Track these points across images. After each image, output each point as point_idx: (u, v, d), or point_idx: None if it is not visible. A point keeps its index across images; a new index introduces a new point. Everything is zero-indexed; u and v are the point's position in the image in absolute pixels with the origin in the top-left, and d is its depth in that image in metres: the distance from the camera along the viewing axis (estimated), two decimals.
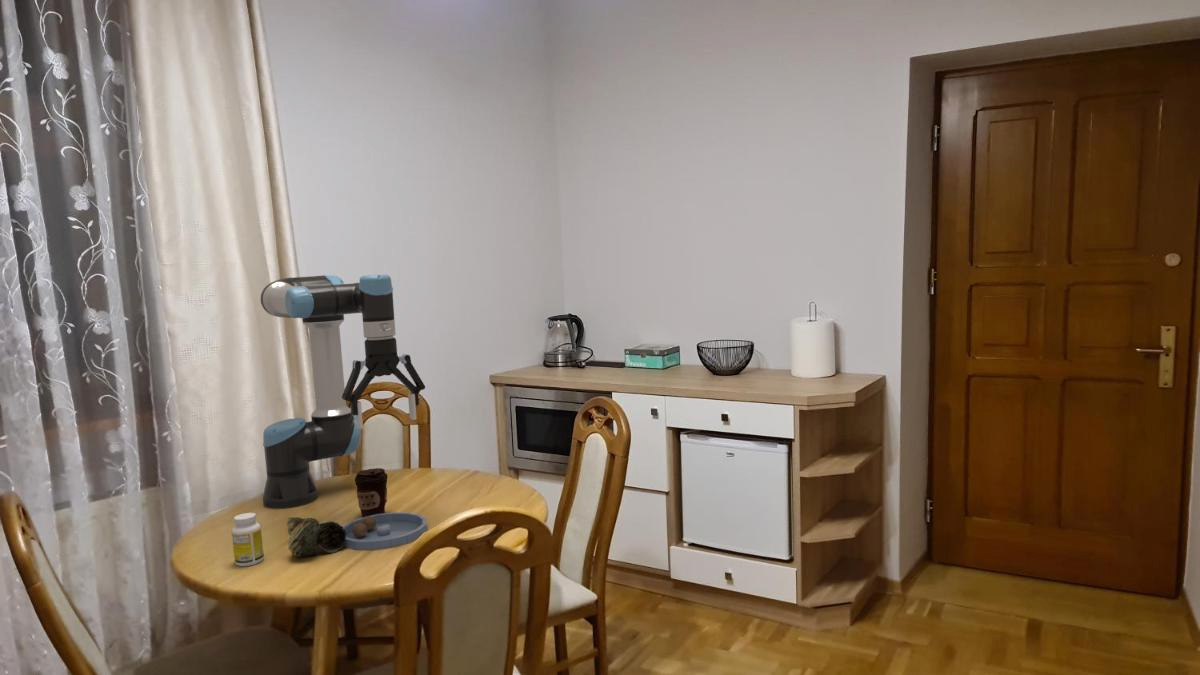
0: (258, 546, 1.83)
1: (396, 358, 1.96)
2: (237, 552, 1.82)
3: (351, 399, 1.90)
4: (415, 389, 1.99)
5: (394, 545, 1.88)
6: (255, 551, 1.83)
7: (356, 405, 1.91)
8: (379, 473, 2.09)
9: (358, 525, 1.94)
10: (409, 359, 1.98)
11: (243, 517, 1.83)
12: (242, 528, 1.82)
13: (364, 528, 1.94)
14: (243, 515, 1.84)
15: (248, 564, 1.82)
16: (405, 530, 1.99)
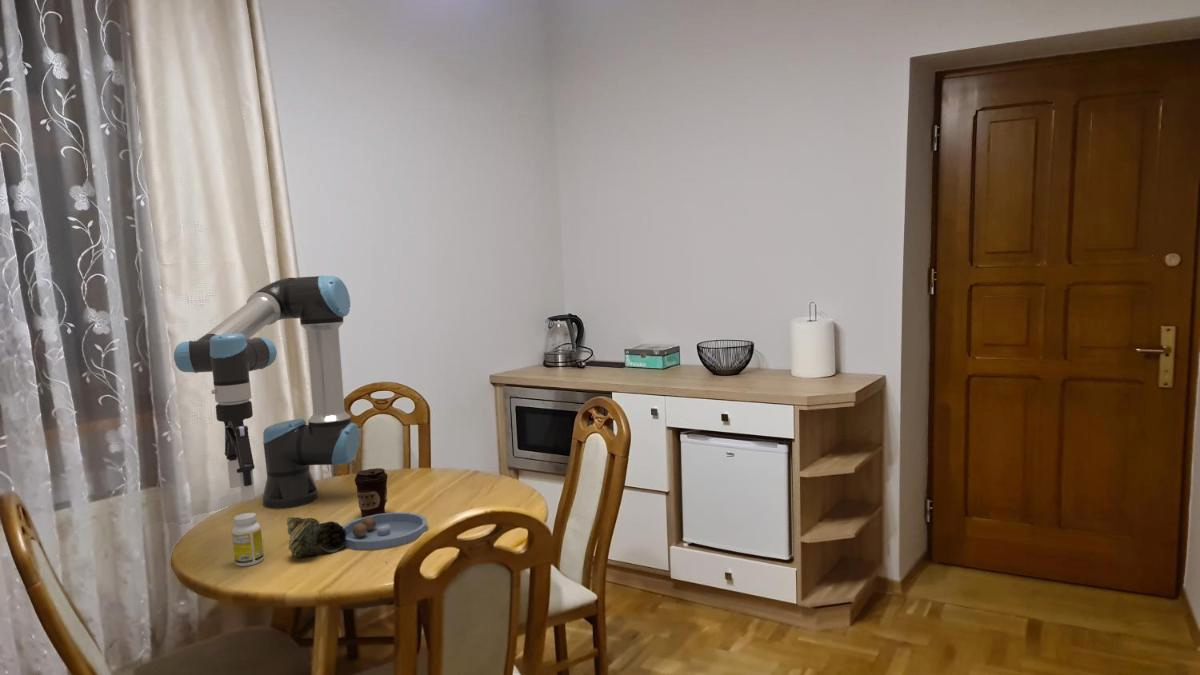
0: (258, 546, 1.83)
1: (233, 427, 1.78)
2: (237, 552, 1.82)
3: None
4: (240, 467, 1.75)
5: (394, 545, 1.88)
6: (255, 551, 1.83)
7: None
8: (379, 473, 2.09)
9: (358, 525, 1.94)
10: (236, 432, 1.75)
11: (243, 517, 1.83)
12: (242, 528, 1.82)
13: (364, 528, 1.94)
14: (243, 515, 1.84)
15: (248, 564, 1.82)
16: (405, 530, 1.99)
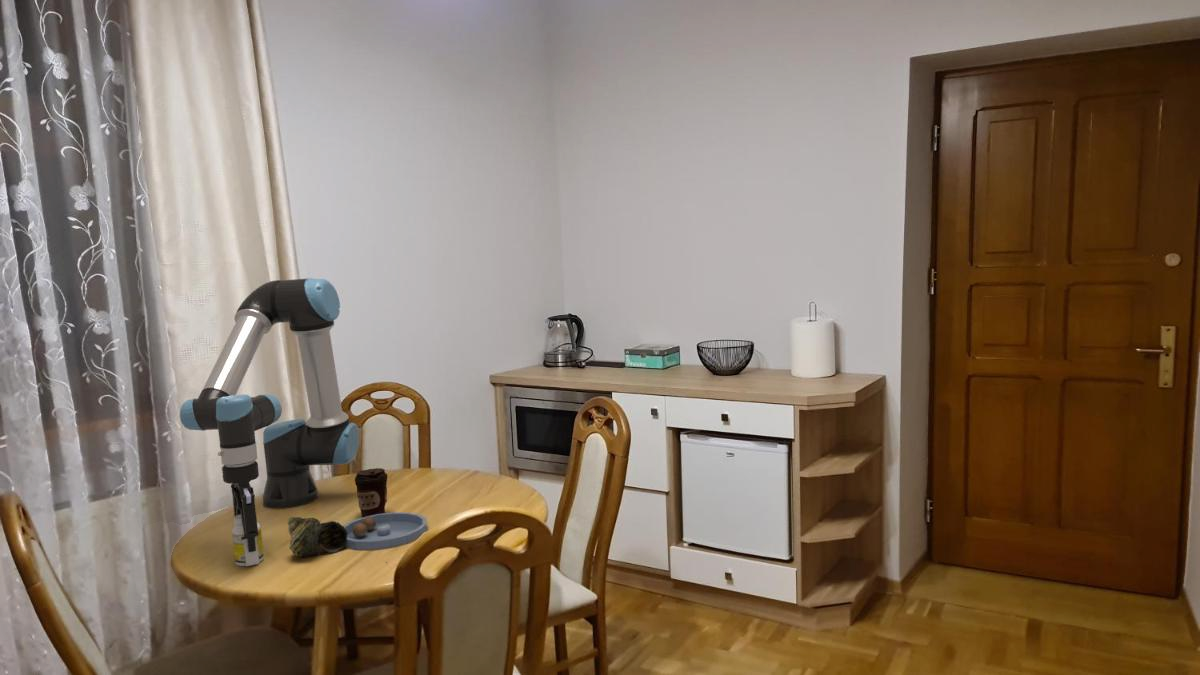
0: (258, 546, 1.83)
1: (239, 490, 1.80)
2: (237, 552, 1.82)
3: None
4: (244, 534, 1.80)
5: (394, 545, 1.88)
6: None
7: None
8: (379, 473, 2.09)
9: (358, 525, 1.94)
10: (242, 501, 1.77)
11: None
12: (242, 528, 1.82)
13: (364, 528, 1.94)
14: None
15: None
16: (405, 530, 1.99)
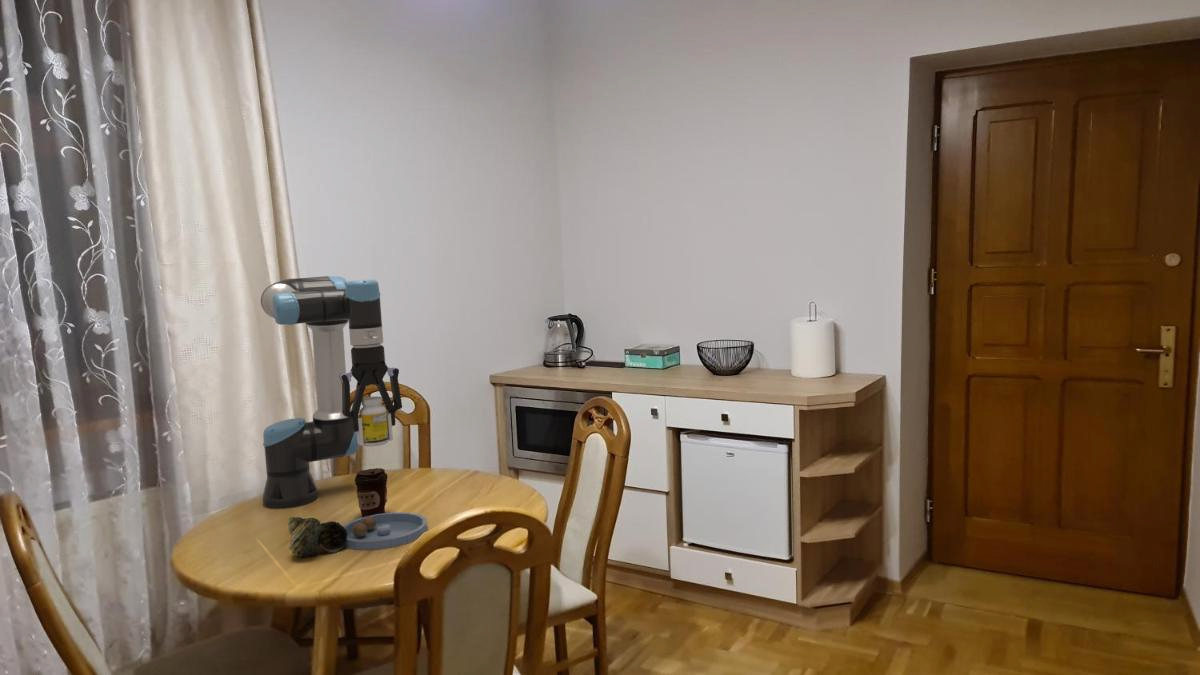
0: None
1: (385, 367, 1.88)
2: (384, 430, 1.87)
3: (351, 415, 1.85)
4: (392, 408, 1.90)
5: (394, 545, 1.88)
6: None
7: (357, 421, 1.86)
8: (379, 473, 2.09)
9: (358, 525, 1.94)
10: (397, 373, 1.90)
11: (375, 398, 1.88)
12: (382, 406, 1.88)
13: (364, 528, 1.94)
14: (368, 398, 1.87)
15: (388, 440, 1.90)
16: (405, 530, 1.99)
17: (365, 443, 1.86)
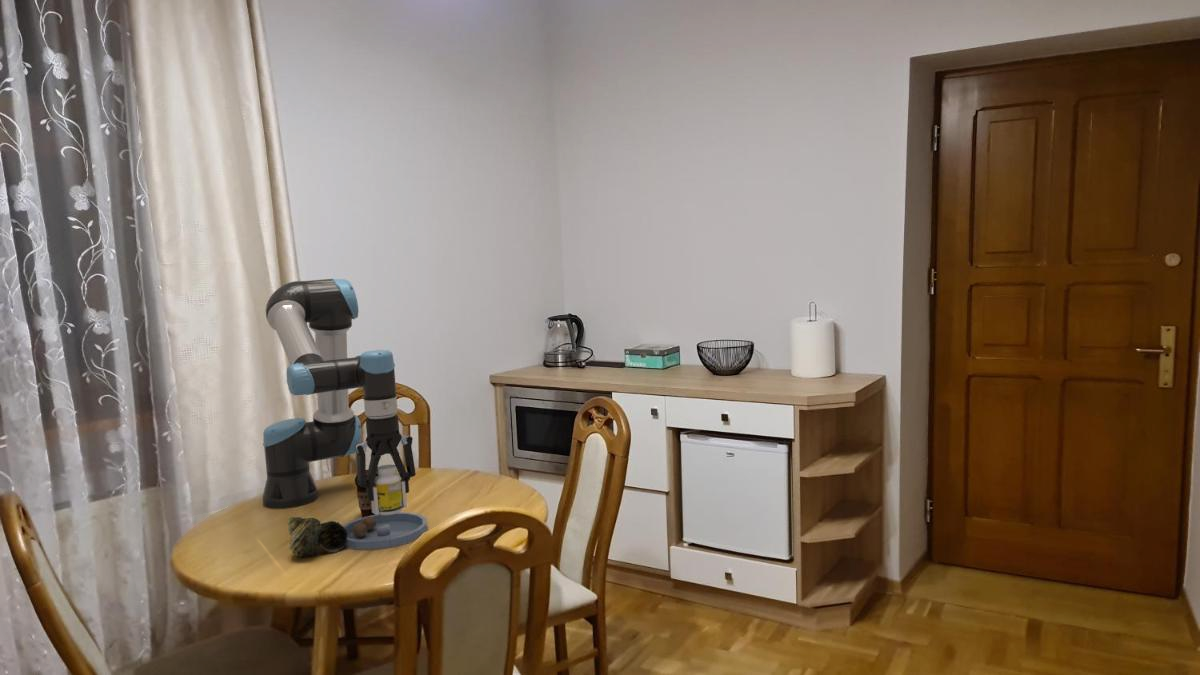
0: None
1: (399, 436, 1.91)
2: (399, 499, 1.90)
3: (367, 485, 1.87)
4: (406, 476, 1.92)
5: (394, 545, 1.88)
6: None
7: (372, 491, 1.88)
8: None
9: (358, 525, 1.94)
10: (410, 441, 1.92)
11: (390, 466, 1.90)
12: (396, 475, 1.91)
13: (364, 528, 1.94)
14: (383, 467, 1.90)
15: None
16: (405, 530, 1.99)
17: (380, 512, 1.89)
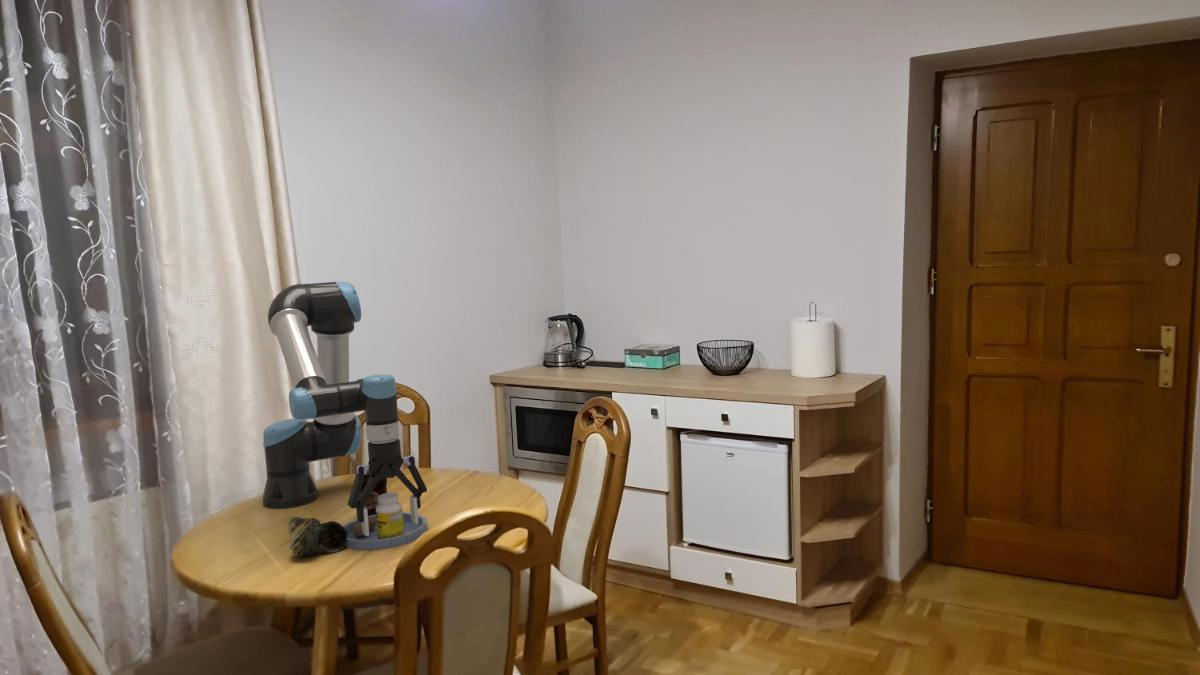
0: None
1: (400, 460, 1.91)
2: (400, 527, 1.91)
3: (357, 506, 1.86)
4: (417, 492, 1.94)
5: (394, 545, 1.88)
6: None
7: (362, 512, 1.87)
8: None
9: (358, 525, 1.94)
10: (413, 461, 1.93)
11: (392, 495, 1.91)
12: (398, 503, 1.91)
13: None
14: (385, 496, 1.91)
15: None
16: (405, 530, 1.99)
17: None
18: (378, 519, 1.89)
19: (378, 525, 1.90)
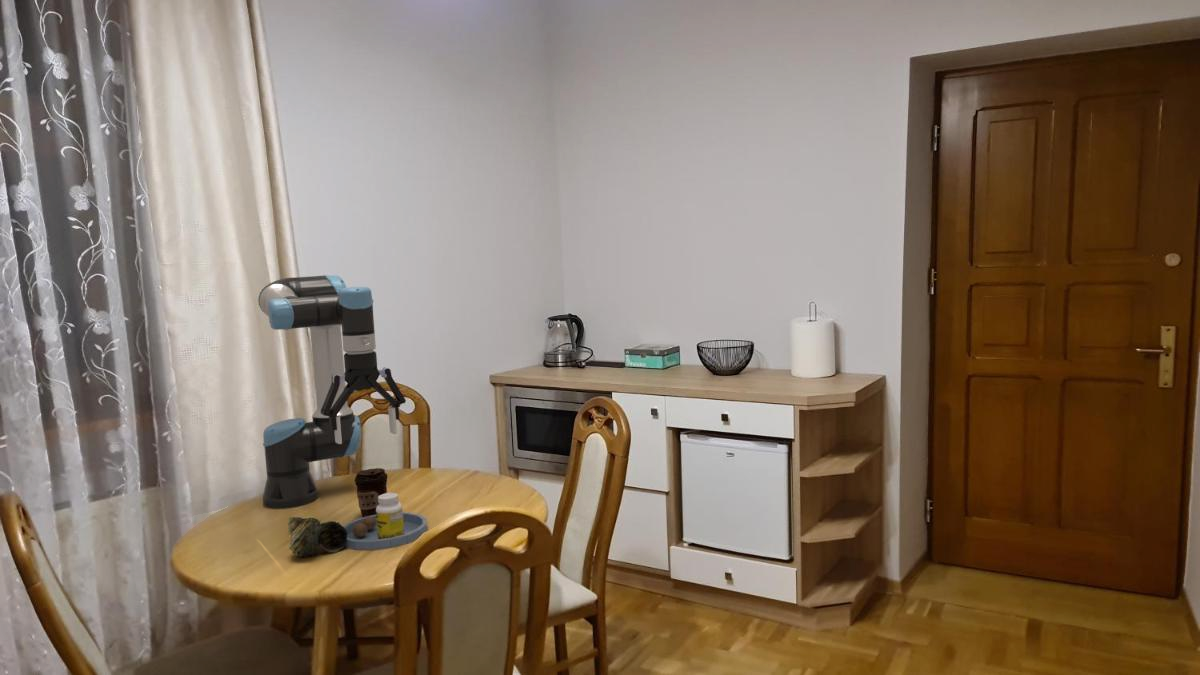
0: None
1: (376, 372, 1.93)
2: (400, 527, 1.91)
3: (330, 414, 1.87)
4: (395, 403, 1.96)
5: (394, 545, 1.88)
6: None
7: (335, 420, 1.88)
8: (379, 473, 2.09)
9: (358, 525, 1.94)
10: (389, 373, 1.95)
11: (392, 495, 1.91)
12: (398, 503, 1.91)
13: (364, 528, 1.94)
14: (385, 496, 1.91)
15: None
16: (405, 530, 1.99)
17: None
18: (378, 519, 1.89)
19: (378, 525, 1.90)
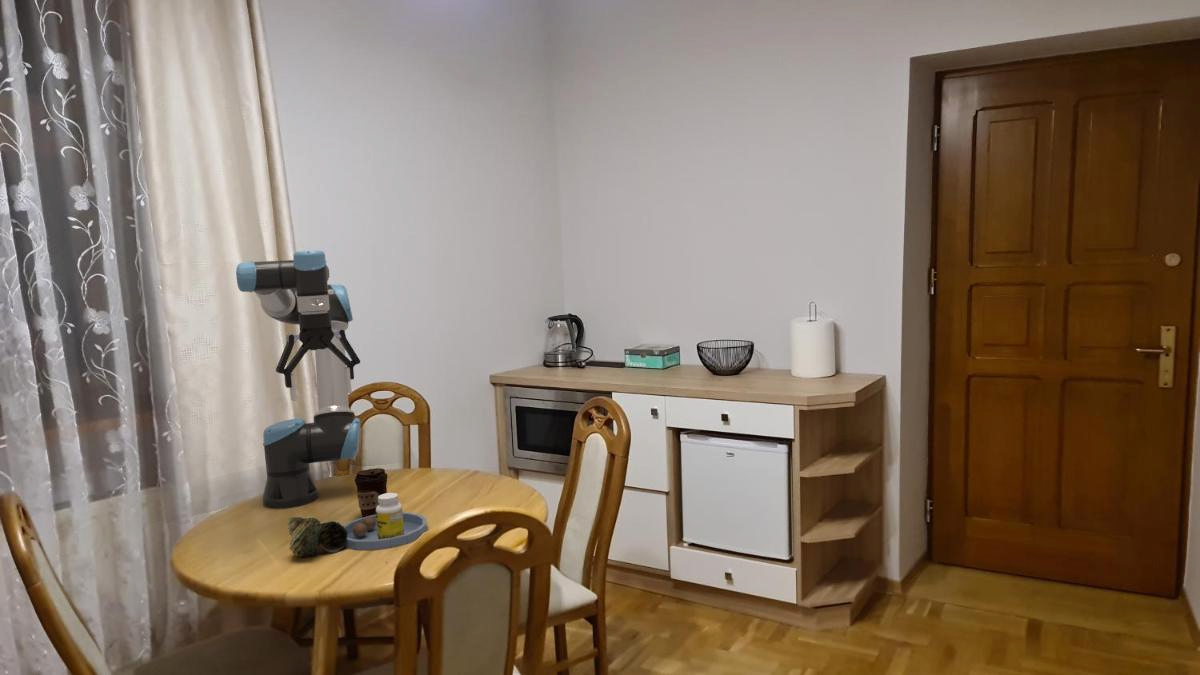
0: None
1: (330, 332, 2.00)
2: (400, 527, 1.91)
3: (284, 372, 1.95)
4: (350, 363, 2.04)
5: (394, 545, 1.88)
6: None
7: (290, 378, 1.96)
8: (379, 473, 2.09)
9: (358, 525, 1.94)
10: (344, 334, 2.02)
11: (392, 495, 1.91)
12: (398, 503, 1.91)
13: (364, 528, 1.94)
14: (385, 496, 1.90)
15: None
16: (405, 530, 1.99)
17: None
18: (378, 519, 1.89)
19: (378, 525, 1.90)
